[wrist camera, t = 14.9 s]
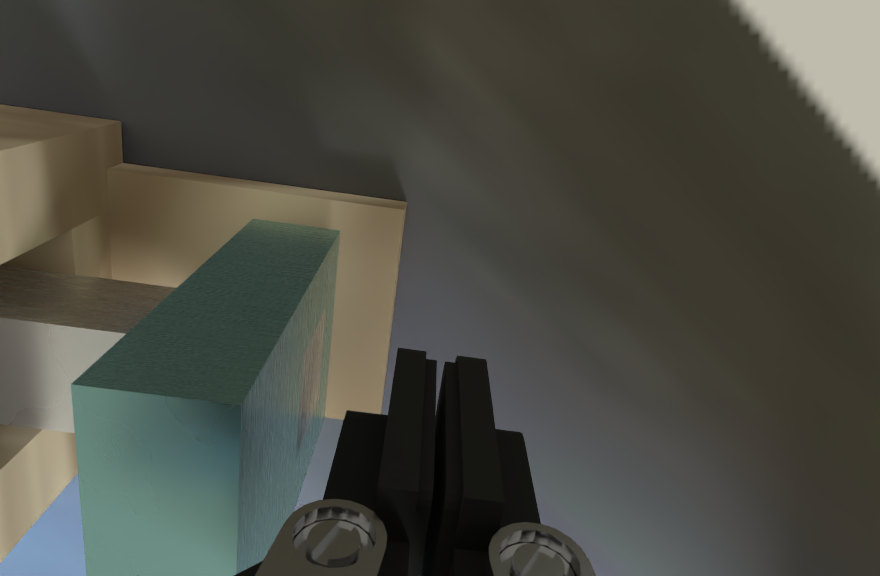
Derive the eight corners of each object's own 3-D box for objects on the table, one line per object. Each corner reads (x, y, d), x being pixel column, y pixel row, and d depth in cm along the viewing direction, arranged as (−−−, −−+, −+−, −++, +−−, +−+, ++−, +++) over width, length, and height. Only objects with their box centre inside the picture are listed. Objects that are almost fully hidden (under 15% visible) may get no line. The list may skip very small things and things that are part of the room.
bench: (412, 162, 15) (382, 259, 9) (378, 437, 18) (336, 676, 11) (-137, 85, 15) (-637, 122, 8) (-83, 380, 18) (-417, 595, 11)
